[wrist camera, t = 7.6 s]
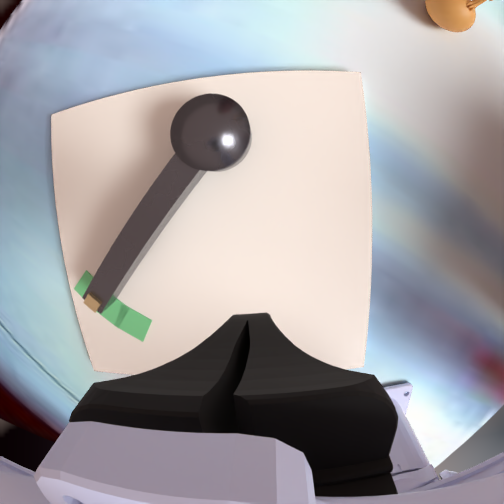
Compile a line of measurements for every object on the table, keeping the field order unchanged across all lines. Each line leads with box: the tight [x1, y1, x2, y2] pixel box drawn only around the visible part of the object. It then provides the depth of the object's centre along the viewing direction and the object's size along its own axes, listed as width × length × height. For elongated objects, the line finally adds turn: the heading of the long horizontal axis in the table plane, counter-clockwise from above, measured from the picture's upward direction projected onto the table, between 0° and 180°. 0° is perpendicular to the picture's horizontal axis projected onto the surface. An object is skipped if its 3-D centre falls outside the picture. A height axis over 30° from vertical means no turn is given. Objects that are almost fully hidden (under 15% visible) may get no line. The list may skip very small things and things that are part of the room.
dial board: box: [51, 71, 372, 375], centre depth 19 cm, size 20×21×1 cm
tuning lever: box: [82, 93, 252, 314], centre depth 17 cm, size 14×4×3 cm, turn 141°
